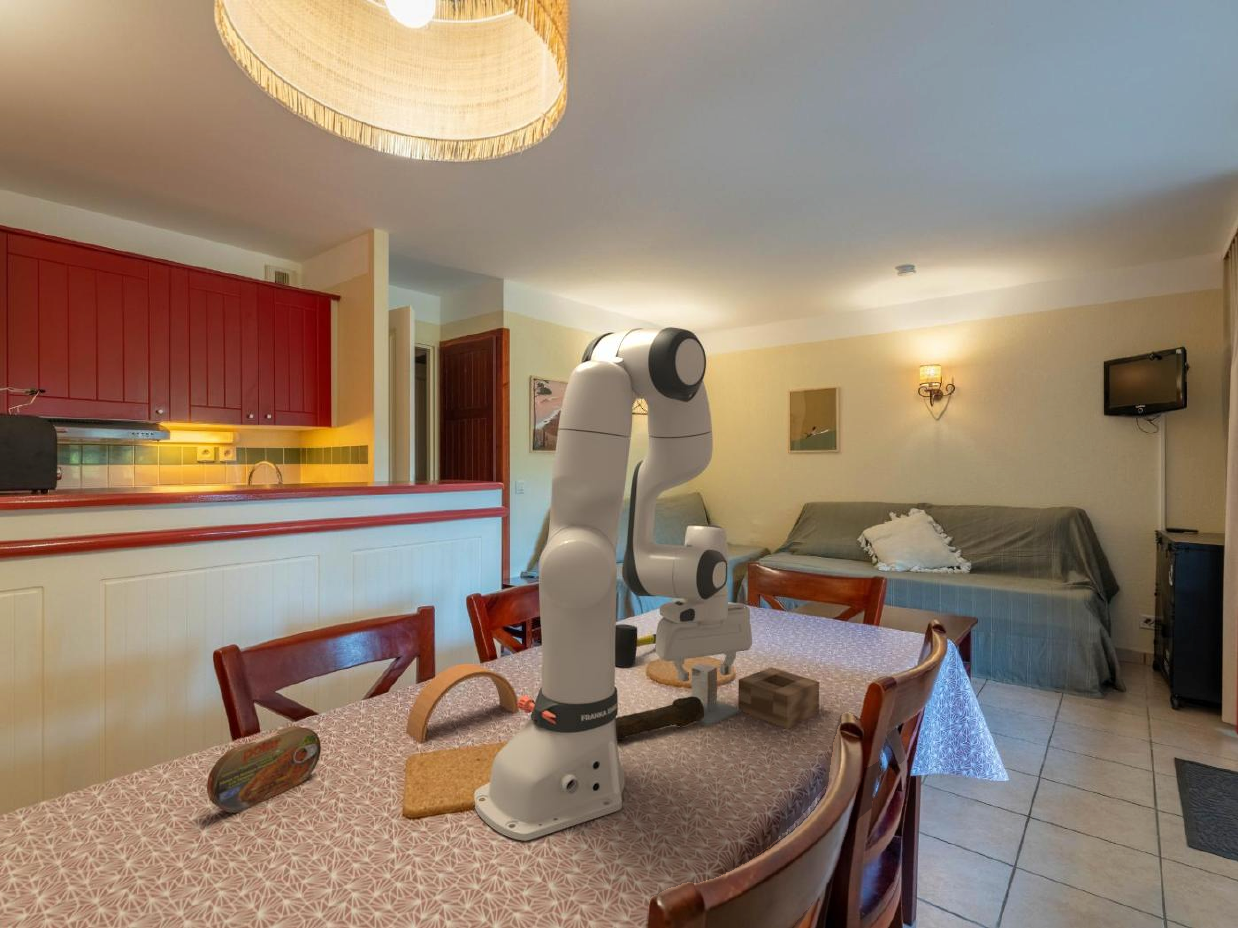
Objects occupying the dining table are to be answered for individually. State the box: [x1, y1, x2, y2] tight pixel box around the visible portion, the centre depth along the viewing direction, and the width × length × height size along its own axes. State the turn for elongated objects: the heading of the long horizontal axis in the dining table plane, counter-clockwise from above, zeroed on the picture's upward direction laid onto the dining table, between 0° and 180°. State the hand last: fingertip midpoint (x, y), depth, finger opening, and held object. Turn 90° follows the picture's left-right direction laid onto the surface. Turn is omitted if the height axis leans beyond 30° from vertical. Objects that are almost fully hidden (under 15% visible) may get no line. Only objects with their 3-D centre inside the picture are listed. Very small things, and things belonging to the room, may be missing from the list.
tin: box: [206, 725, 322, 814], centre depth 87 cm, size 15×3×8 cm, turn 148°
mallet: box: [615, 623, 656, 667], centre depth 153 cm, size 29×6×10 cm, turn 145°
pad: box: [695, 700, 742, 728], centre depth 117 cm, size 10×10×1 cm
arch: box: [406, 663, 520, 744], centre depth 111 cm, size 6×20×10 cm, turn 132°
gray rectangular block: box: [690, 663, 718, 714], centre depth 117 cm, size 4×4×8 cm
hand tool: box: [615, 696, 704, 742], centre depth 108 cm, size 19×4×5 cm, turn 112°
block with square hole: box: [737, 666, 820, 730], centre depth 117 cm, size 11×11×6 cm
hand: (704, 677), depth 117 cm, fingers open, 8 cm apart
